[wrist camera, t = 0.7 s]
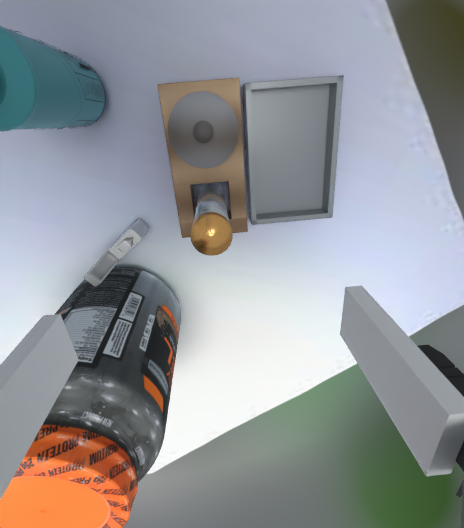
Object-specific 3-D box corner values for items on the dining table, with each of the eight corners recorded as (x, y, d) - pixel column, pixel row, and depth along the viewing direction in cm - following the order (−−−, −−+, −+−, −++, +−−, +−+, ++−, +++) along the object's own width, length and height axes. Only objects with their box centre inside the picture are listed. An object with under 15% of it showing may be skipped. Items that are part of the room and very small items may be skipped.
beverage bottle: (115, 71, 31) (-14, 3, 13) (108, 136, 34) (-9, 153, 16) (50, 48, 30) (-190, -59, 12) (47, 117, 33) (-152, 114, 15)
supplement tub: (162, 360, 49) (118, 574, 26) (64, 331, 45) (-89, 551, 22) (198, 284, 43) (184, 474, 20) (90, 244, 39) (-82, 420, 16)
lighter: (139, 217, 38) (122, 239, 31) (149, 227, 39) (135, 251, 32) (104, 251, 40) (80, 280, 33) (114, 260, 41) (93, 289, 34)
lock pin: (196, 182, 37) (187, 218, 23) (223, 179, 37) (230, 214, 23) (199, 208, 38) (193, 257, 25) (225, 206, 38) (233, 253, 25)
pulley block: (163, 88, 32) (152, 80, 26) (236, 82, 32) (241, 73, 26) (184, 227, 39) (180, 245, 33) (244, 221, 39) (250, 239, 33)
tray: (242, 86, 33) (245, 83, 30) (333, 78, 33) (343, 75, 30) (249, 218, 39) (251, 224, 37) (324, 211, 40) (332, 217, 37)
